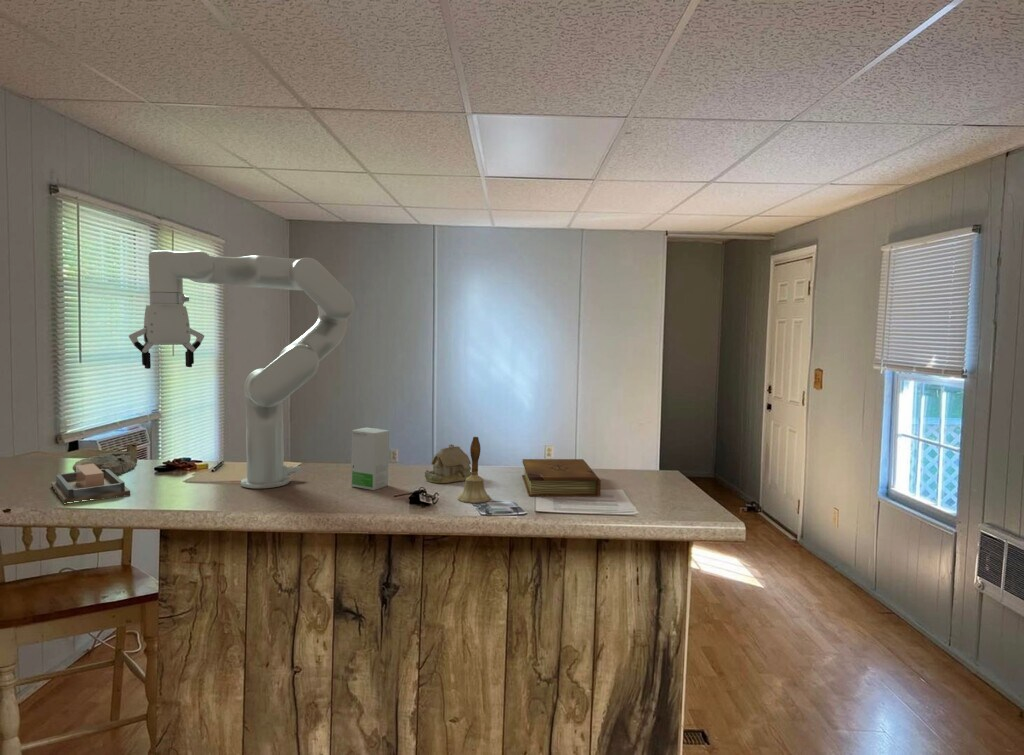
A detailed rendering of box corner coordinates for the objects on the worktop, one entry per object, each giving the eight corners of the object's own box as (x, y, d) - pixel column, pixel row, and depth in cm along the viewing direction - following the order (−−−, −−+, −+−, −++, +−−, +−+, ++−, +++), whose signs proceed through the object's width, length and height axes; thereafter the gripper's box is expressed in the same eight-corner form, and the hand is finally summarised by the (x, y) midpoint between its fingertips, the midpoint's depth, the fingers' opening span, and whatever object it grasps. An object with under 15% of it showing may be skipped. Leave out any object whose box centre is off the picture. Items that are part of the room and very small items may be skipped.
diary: (600, 498, 173) (600, 477, 173) (528, 499, 172) (529, 477, 171) (585, 477, 196) (585, 458, 195) (522, 477, 195) (522, 458, 194)
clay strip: (94, 480, 178) (93, 463, 178) (104, 490, 168) (103, 472, 167) (76, 482, 176) (75, 465, 175) (85, 492, 165) (85, 475, 165)
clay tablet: (105, 463, 207) (64, 476, 187) (105, 447, 207) (64, 459, 187) (151, 464, 208) (115, 478, 188) (151, 448, 207) (115, 461, 187)
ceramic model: (457, 472, 199) (457, 439, 199) (481, 479, 191) (482, 444, 191) (419, 479, 189) (419, 445, 189) (443, 486, 182) (443, 450, 181)
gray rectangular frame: (112, 479, 185) (111, 467, 184) (130, 495, 168) (129, 482, 168) (51, 486, 175) (51, 474, 175) (64, 504, 159) (63, 491, 159)
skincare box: (350, 486, 180) (349, 430, 178) (365, 481, 185) (365, 426, 184) (375, 490, 176) (374, 432, 175) (390, 485, 182) (390, 429, 181)
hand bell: (471, 493, 175) (472, 433, 173) (496, 498, 170) (497, 436, 169) (451, 499, 168) (451, 437, 167) (476, 505, 163) (477, 441, 162)
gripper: (198, 301, 176) (200, 365, 178) (124, 299, 165) (126, 368, 166) (207, 301, 171) (208, 367, 172) (131, 298, 159) (133, 369, 161)
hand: (168, 367), depth 169 cm, fingers open, 9 cm apart
